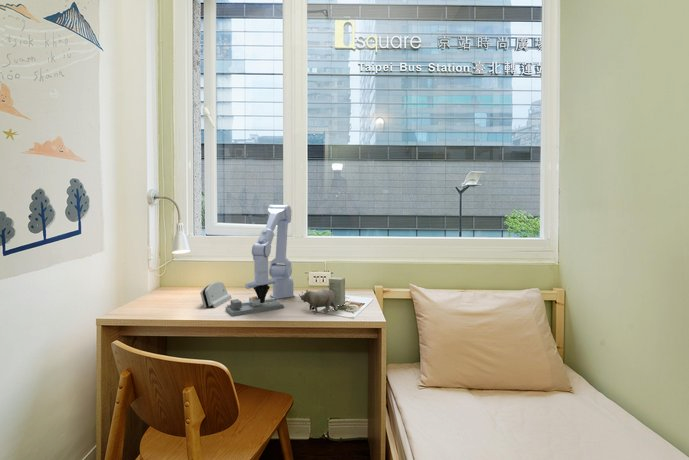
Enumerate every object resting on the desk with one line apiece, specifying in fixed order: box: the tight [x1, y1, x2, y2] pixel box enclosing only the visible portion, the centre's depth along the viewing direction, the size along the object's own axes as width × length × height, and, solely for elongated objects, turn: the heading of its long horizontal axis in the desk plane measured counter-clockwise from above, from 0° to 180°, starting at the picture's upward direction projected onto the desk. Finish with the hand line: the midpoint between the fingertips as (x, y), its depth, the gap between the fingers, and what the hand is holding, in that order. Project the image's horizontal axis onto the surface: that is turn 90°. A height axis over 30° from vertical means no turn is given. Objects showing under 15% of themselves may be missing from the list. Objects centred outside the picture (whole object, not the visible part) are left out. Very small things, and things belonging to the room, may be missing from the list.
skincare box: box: [328, 276, 346, 307], centre depth 165 cm, size 6×4×12 cm
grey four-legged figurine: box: [298, 288, 338, 315], centre depth 156 cm, size 8×14×15 cm
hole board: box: [225, 297, 284, 317], centre depth 157 cm, size 22×9×5 cm, turn 124°
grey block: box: [248, 295, 260, 306], centre depth 157 cm, size 3×5×4 cm, turn 34°
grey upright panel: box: [199, 281, 233, 309], centre depth 167 cm, size 17×5×10 cm, turn 172°
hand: (261, 302), depth 159 cm, fingers closed
